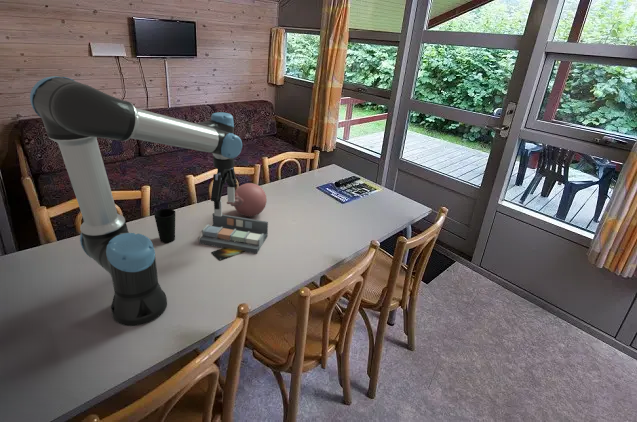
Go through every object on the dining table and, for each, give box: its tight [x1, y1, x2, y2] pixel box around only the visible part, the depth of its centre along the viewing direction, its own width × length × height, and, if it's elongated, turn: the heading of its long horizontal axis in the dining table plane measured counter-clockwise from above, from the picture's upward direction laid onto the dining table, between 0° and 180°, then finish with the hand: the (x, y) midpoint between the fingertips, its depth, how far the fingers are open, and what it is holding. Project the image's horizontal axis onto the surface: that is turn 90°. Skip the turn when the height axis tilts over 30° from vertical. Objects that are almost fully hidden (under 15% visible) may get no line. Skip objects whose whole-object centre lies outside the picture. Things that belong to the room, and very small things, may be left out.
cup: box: [153, 208, 176, 244], centre depth 143 cm, size 8×8×12 cm
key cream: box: [246, 233, 261, 245], centre depth 146 cm, size 5×5×2 cm
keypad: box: [198, 212, 269, 254], centre depth 148 cm, size 14×24×7 cm, turn 81°
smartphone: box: [210, 242, 247, 262], centre depth 142 cm, size 7×1×15 cm
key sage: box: [232, 230, 247, 242], centre depth 147 cm, size 5×5×2 cm
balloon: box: [226, 182, 267, 217], centre depth 166 cm, size 15×20×15 cm
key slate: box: [204, 225, 220, 238], centre depth 148 cm, size 5×5×2 cm
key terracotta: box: [218, 228, 234, 240], centre depth 147 cm, size 5×5×2 cm
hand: (224, 208), depth 142 cm, fingers open, 12 cm apart
